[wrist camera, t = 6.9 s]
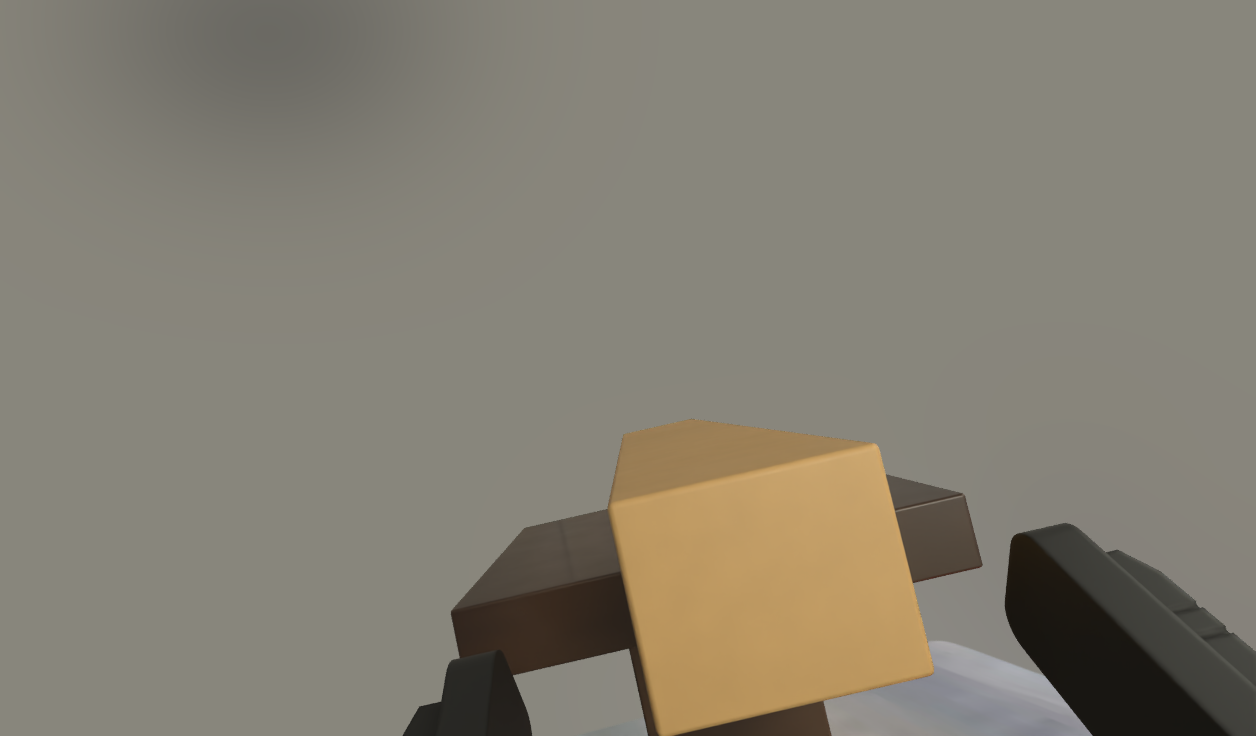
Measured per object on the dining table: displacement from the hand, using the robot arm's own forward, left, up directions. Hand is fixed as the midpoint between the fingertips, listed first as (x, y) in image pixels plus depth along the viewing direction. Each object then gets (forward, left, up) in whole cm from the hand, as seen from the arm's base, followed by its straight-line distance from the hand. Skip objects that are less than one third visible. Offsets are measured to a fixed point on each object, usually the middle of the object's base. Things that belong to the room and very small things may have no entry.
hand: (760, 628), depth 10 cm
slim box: (0, +10, 0) cm, 10 cm away
